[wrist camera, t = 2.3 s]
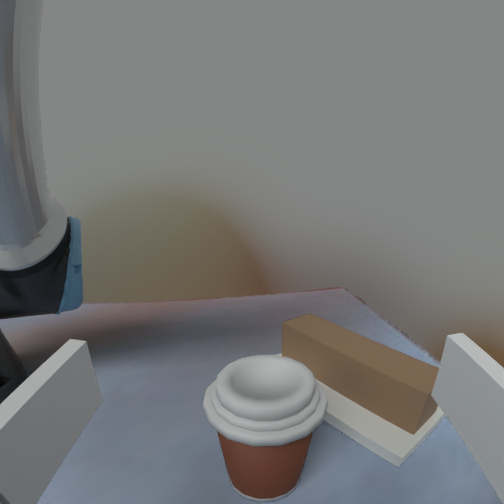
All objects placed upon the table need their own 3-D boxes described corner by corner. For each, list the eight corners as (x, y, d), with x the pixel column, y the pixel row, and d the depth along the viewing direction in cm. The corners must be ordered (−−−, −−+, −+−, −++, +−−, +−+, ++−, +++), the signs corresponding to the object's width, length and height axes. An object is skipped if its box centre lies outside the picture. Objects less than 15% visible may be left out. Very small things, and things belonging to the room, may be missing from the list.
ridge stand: (257, 370, 42) (256, 326, 41) (319, 345, 48) (322, 305, 47) (398, 467, 22) (418, 417, 21) (451, 409, 29) (467, 361, 27)
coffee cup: (328, 500, 20) (352, 404, 17) (221, 520, 18) (204, 428, 16) (298, 437, 29) (305, 341, 26) (210, 449, 27) (197, 352, 25)
